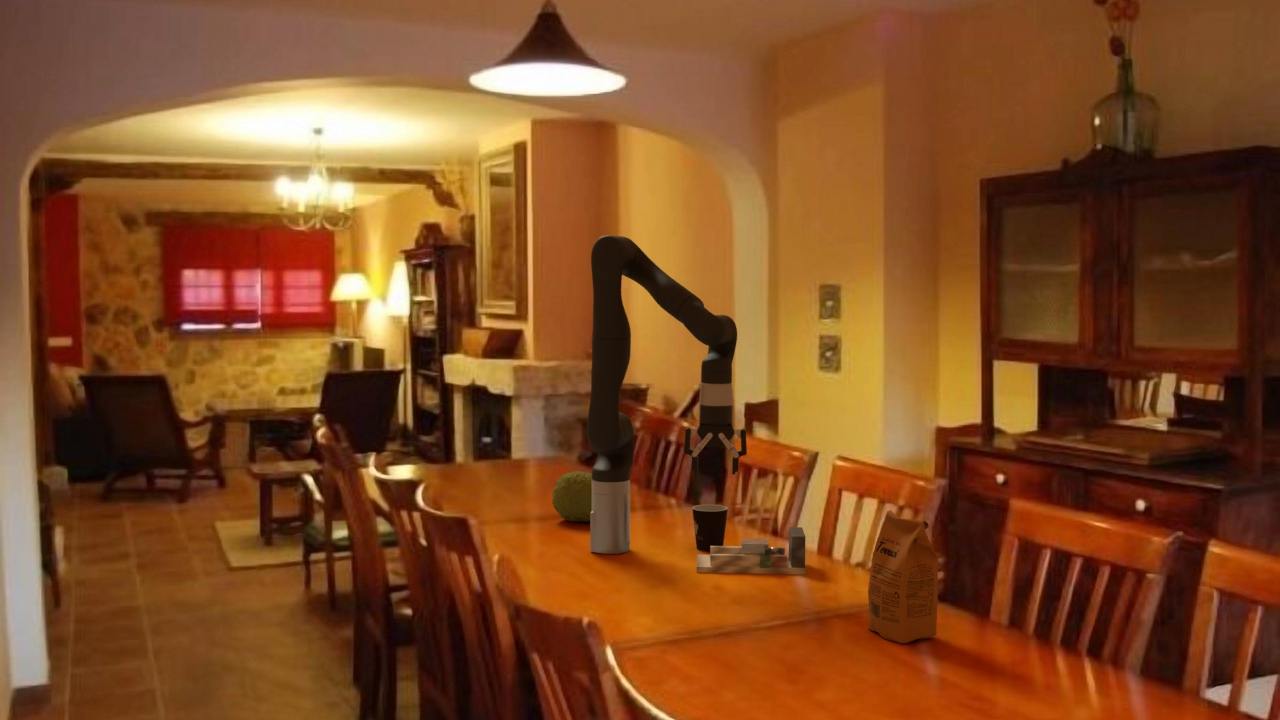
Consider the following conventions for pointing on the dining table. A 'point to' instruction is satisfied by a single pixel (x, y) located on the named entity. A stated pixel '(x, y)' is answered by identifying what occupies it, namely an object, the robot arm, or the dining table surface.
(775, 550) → the plunger
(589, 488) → the fruit
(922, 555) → the coffee package
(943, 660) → the dining table surface
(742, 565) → the gauge bed
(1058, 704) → the dining table surface
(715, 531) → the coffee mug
